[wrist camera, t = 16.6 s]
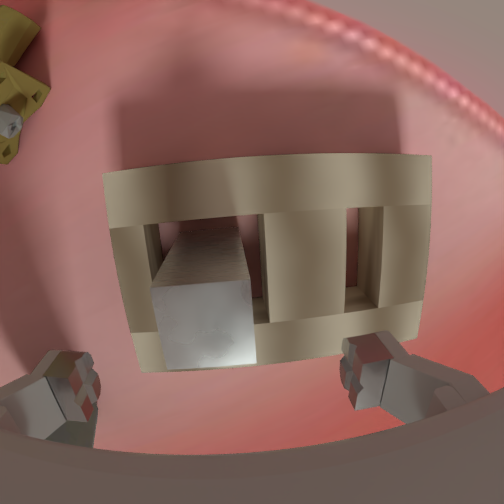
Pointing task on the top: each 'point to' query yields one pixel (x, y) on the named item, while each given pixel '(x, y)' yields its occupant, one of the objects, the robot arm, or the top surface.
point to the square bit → (205, 301)
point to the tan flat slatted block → (286, 244)
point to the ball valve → (16, 80)
